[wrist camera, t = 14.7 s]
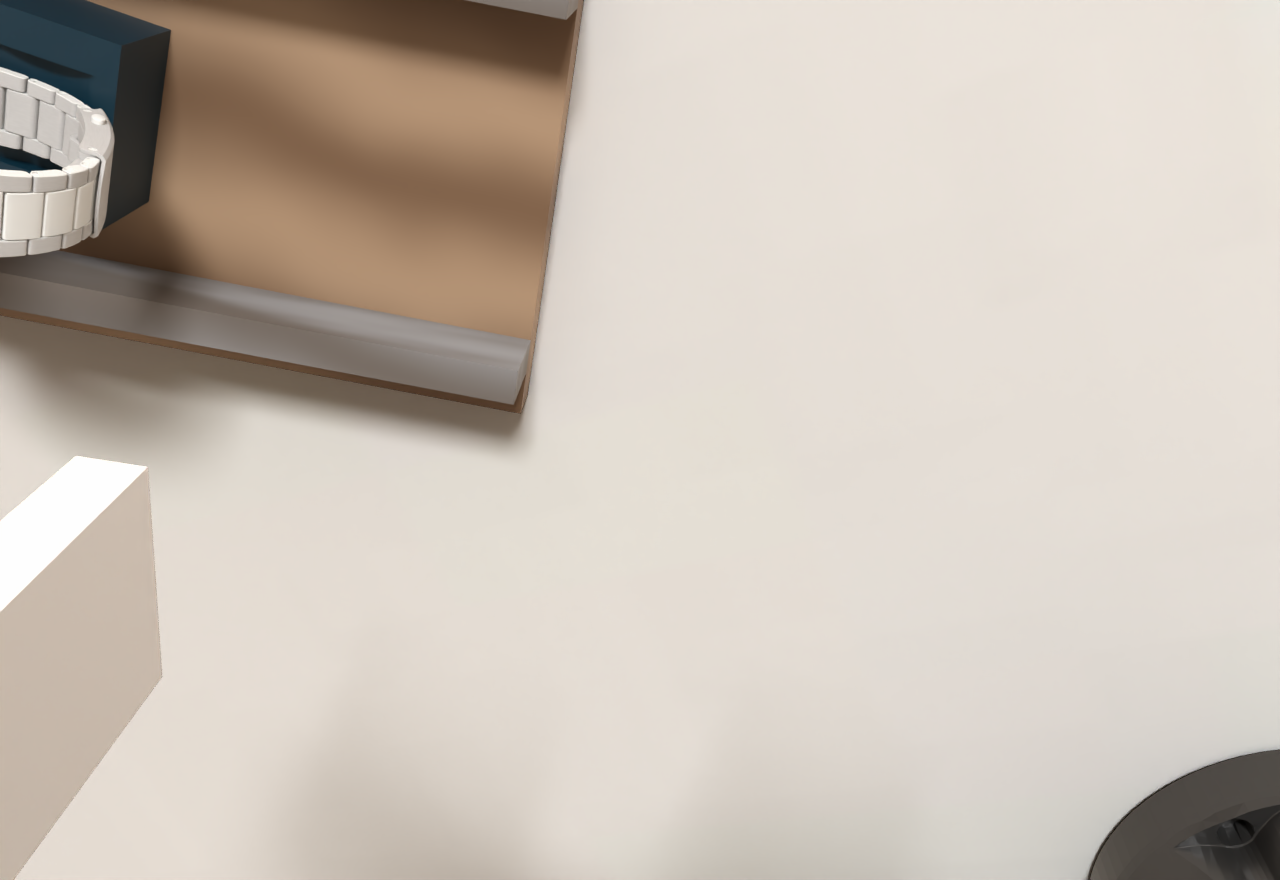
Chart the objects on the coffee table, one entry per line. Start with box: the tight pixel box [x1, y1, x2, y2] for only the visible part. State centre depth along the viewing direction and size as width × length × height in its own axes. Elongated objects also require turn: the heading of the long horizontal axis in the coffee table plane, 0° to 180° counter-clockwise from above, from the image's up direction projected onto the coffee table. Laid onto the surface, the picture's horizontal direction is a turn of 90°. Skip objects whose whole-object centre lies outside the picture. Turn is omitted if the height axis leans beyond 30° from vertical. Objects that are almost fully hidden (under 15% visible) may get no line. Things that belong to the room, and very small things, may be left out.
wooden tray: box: [0, 0, 584, 414], centre depth 35 cm, size 16×24×4 cm, turn 80°
